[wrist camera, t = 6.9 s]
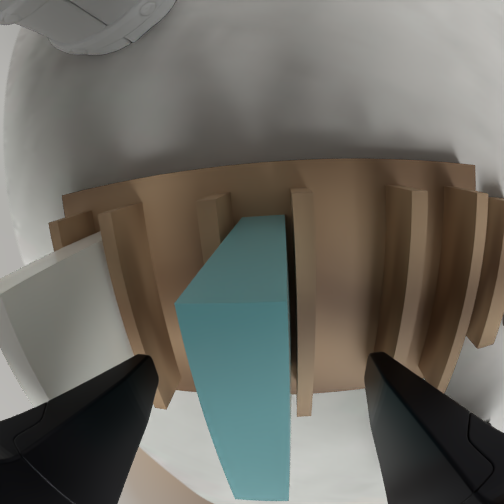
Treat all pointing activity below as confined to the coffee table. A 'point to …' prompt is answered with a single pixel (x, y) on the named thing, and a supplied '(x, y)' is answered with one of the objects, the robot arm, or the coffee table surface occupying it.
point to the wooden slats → (490, 280)
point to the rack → (302, 260)
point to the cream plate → (61, 320)
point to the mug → (86, 21)
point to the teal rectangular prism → (244, 355)
